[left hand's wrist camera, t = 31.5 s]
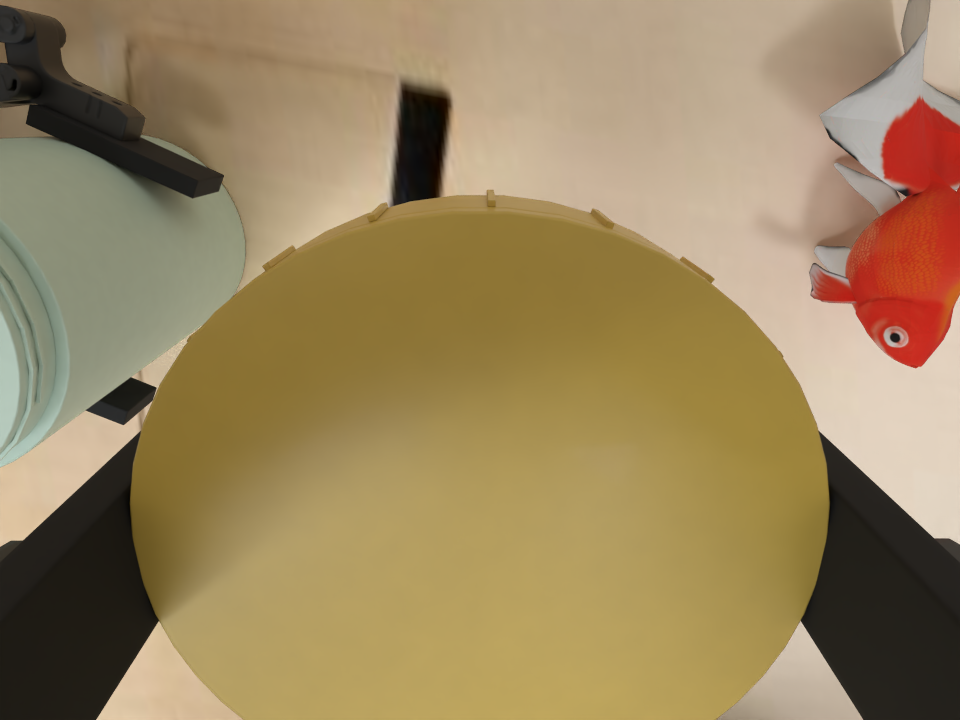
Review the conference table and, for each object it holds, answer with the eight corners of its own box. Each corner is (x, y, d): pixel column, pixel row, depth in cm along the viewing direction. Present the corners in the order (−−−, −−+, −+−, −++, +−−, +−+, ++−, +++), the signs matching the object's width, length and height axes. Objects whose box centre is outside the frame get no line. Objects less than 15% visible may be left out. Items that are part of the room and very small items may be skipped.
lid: (283, 747, 15) (255, 834, 13) (75, 265, 11) (-6, 295, 9) (787, 673, 14) (832, 756, 12) (768, 123, 10) (832, 124, 8)
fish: (702, 331, 30) (929, 318, 21) (752, 20, 31) (985, -119, 22) (850, 376, 34) (1090, 382, 25) (888, 102, 36) (1128, 15, 27)
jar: (202, 111, 31) (-90, 101, 15) (272, 309, 34) (95, 470, 19) (9, 160, 32) (-461, 199, 16) (97, 349, 35) (-217, 535, 19)
